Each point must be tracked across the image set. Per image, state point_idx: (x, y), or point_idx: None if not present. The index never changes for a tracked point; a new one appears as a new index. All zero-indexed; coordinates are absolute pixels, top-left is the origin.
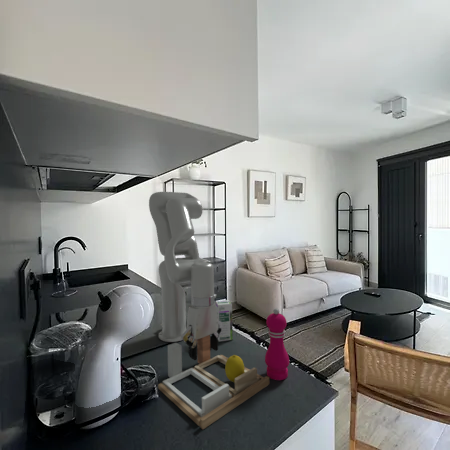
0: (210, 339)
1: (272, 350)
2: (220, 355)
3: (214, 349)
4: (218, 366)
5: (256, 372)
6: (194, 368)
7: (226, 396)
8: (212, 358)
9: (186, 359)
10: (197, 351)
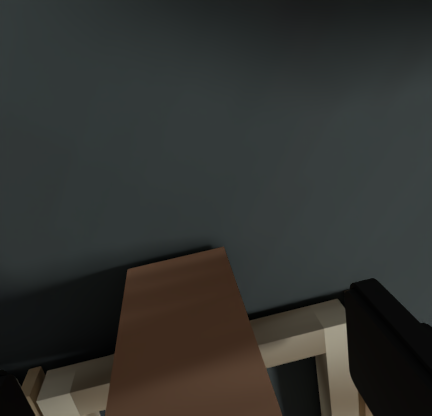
0: (424, 387)
1: None
2: None
3: (351, 359)
4: None
5: None
6: (34, 410)
7: None
8: (268, 349)
9: (34, 120)
10: (114, 357)
